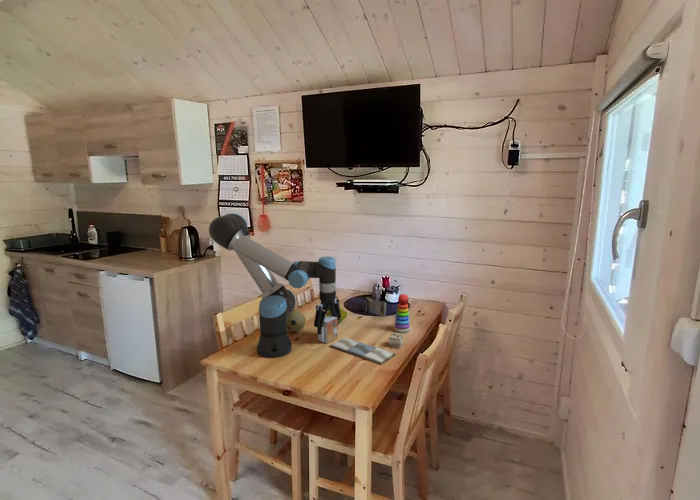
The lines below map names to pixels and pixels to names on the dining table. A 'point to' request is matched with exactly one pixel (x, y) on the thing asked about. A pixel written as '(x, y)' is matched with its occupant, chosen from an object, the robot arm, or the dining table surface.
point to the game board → (363, 350)
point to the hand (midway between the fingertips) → (328, 336)
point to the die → (396, 340)
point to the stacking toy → (402, 315)
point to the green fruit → (343, 314)
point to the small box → (330, 329)
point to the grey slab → (376, 307)
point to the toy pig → (295, 321)
